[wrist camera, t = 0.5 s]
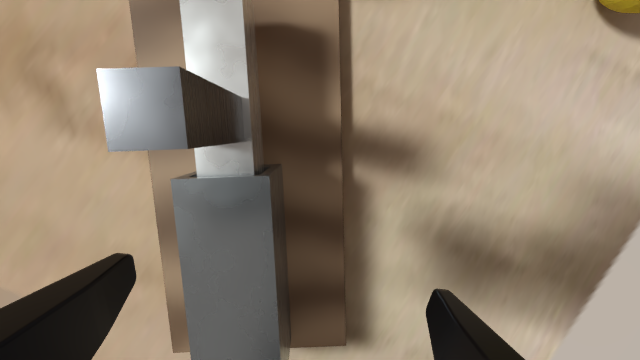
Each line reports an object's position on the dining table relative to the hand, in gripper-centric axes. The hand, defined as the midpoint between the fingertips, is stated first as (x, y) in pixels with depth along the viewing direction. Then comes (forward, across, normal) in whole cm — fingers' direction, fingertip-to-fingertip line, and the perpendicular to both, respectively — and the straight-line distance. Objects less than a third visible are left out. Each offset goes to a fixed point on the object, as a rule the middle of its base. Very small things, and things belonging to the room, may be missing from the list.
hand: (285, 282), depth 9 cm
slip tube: (+11, +4, +3) cm, 12 cm away
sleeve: (+11, +3, +9) cm, 15 cm away
